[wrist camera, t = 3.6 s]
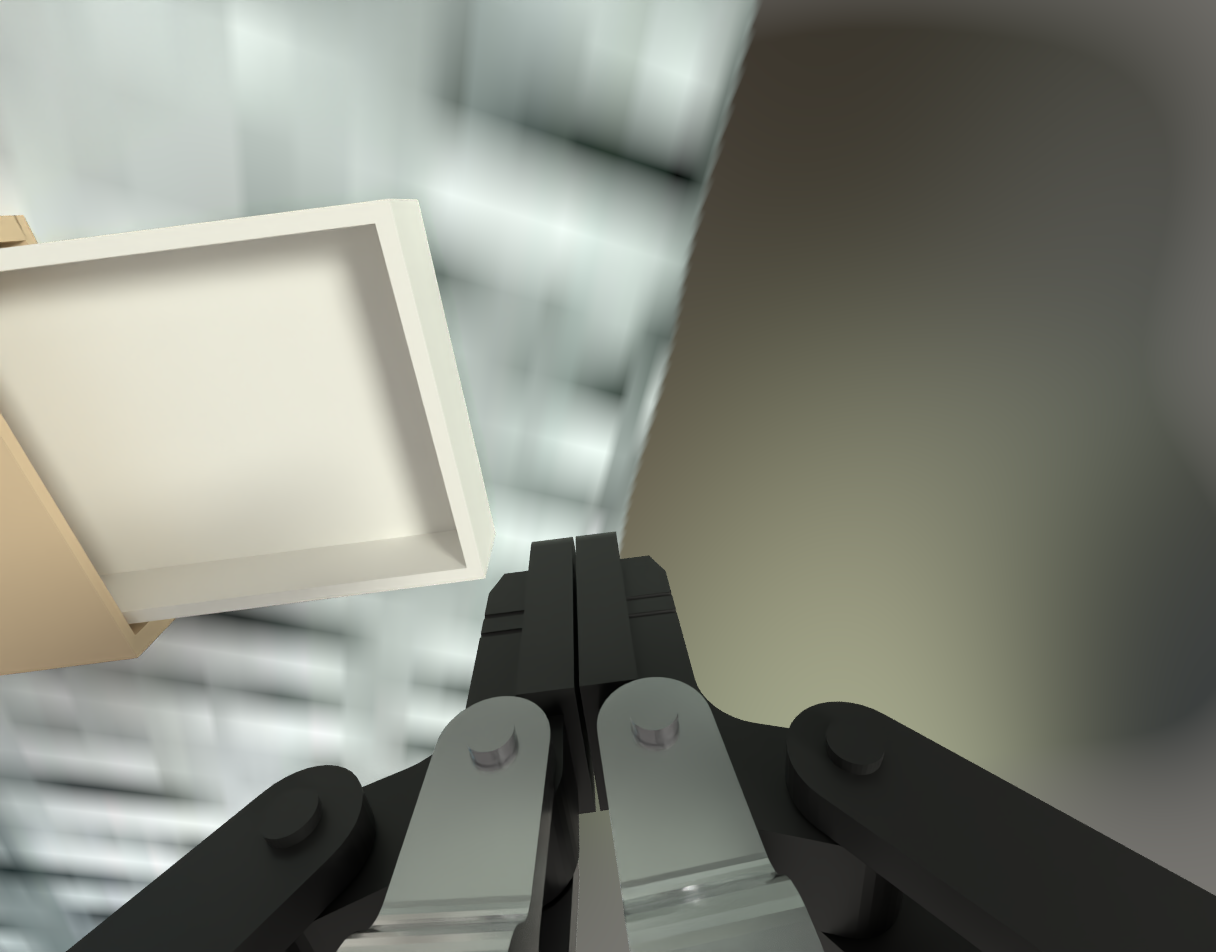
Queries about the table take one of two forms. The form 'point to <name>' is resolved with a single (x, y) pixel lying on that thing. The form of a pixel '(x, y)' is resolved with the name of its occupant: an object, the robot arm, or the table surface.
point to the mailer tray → (247, 408)
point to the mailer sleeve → (50, 567)
